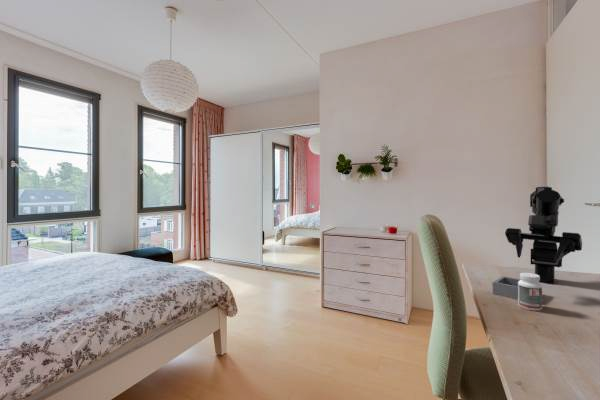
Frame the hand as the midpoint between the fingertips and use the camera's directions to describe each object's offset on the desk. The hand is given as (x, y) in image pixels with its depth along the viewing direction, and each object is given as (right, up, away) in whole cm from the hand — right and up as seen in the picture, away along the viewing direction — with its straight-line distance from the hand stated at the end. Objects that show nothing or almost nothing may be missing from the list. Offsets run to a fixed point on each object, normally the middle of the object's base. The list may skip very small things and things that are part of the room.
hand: (536, 259), depth 89 cm
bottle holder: (-2, -13, +6) cm, 15 cm away
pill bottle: (-5, -14, -4) cm, 15 cm away
